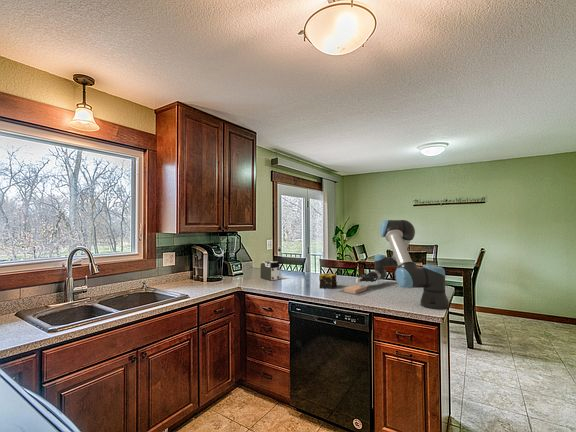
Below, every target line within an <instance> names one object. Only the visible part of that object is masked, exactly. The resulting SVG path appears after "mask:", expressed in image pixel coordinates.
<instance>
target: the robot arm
mask: <svg viewBox="0 0 576 432" xmlns="http://www.w3.org/2000/svg"><path fill="white" fill-rule="evenodd" d="M379 230H380V231H379V232H380V233H379V234H380V237H382V238H385V240H386V241H387V242H388V243H389V245H390V247H391V248H390V249H391V250H392V256H385V254H375V255H374V270H372V271H369V272H367V274H360V275H359V276H357V278H355V283H357V284H358V283H362V282H365V283H367V282H368V283H369V282H371V283H373V282H377V281H380V280H384V279H385V278H386V277H387V275H388V272H387V270H386V269H385V267H386V268H388V267H393V268H394V267H395V268H396V269H395V274H394V275H395V279H396V282H397V284H398V286H400V287H401V288H403V289H404V288H405V289H414V288H415V289H416V288H417V289H422V290H423V292H422V294H421V297H420V305H421V306H422V307H425V308H429V309H435V310H445V309H448V308H450V302H449V300H448V297H447V294H446V271H445V268H444V267H442V266H436V265H430V264H423V265H422V267H418V265H417V263H416V262H414V261H412V258H411V255H410V254H409V250H408V247H409V245H410V244H411V241H412V240H414V237H415V235H416V230H415V227H414V225H413V223H411V221H409V220H406V219H385V220H382V221H381V223H380V228H379Z"/></svg>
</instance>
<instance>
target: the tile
mask: <svg viewBox="0 0 576 432" xmlns="http://www.w3.org/2000/svg"><path fill="white" fill-rule="evenodd" d="M366 288H367V286H365V285H364V286H363V285H358V284H354V285H350V286H348V287H347V286H346V287H344V289H343V290H344V292H348V293H353V294H357V293H360V292H363V291H366Z"/></svg>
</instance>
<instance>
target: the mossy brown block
mask: <svg viewBox="0 0 576 432" xmlns="http://www.w3.org/2000/svg"><path fill="white" fill-rule="evenodd" d="M318 277H319V279H318V280H319V289H323V290H326V289H328V290H332V289H335V288H337V287H338V284H337V283H338V282H337V273H322V274H319V276H318Z"/></svg>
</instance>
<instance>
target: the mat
mask: <svg viewBox="0 0 576 432" xmlns="http://www.w3.org/2000/svg"><path fill="white" fill-rule="evenodd" d="M375 291H377V289H375V288H369V287H366V291H363V292H360V293H357V294H353V293H348V292H344V289H341V290H338V291H336V292H338V293H341V294H342V293H343V294H348V295H352V296H358V297H359V296H363V295H367V294H369V293H372V292H375Z"/></svg>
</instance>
